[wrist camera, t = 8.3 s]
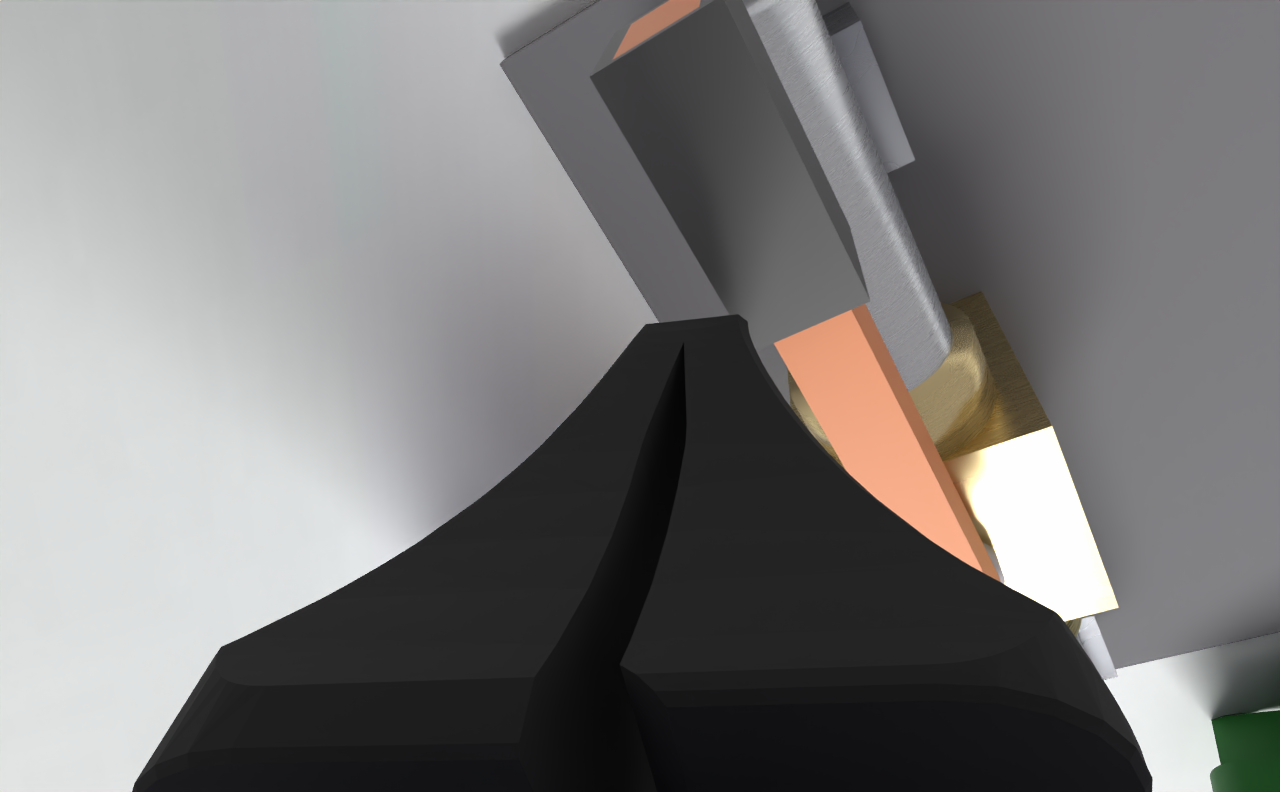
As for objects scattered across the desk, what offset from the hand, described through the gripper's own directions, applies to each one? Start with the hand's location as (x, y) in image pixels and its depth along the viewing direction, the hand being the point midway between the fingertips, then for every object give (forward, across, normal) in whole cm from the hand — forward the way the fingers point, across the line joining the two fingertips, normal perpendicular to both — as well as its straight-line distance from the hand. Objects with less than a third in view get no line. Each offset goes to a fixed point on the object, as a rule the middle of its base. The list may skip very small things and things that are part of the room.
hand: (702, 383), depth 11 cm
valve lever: (+4, -2, +2) cm, 5 cm away
